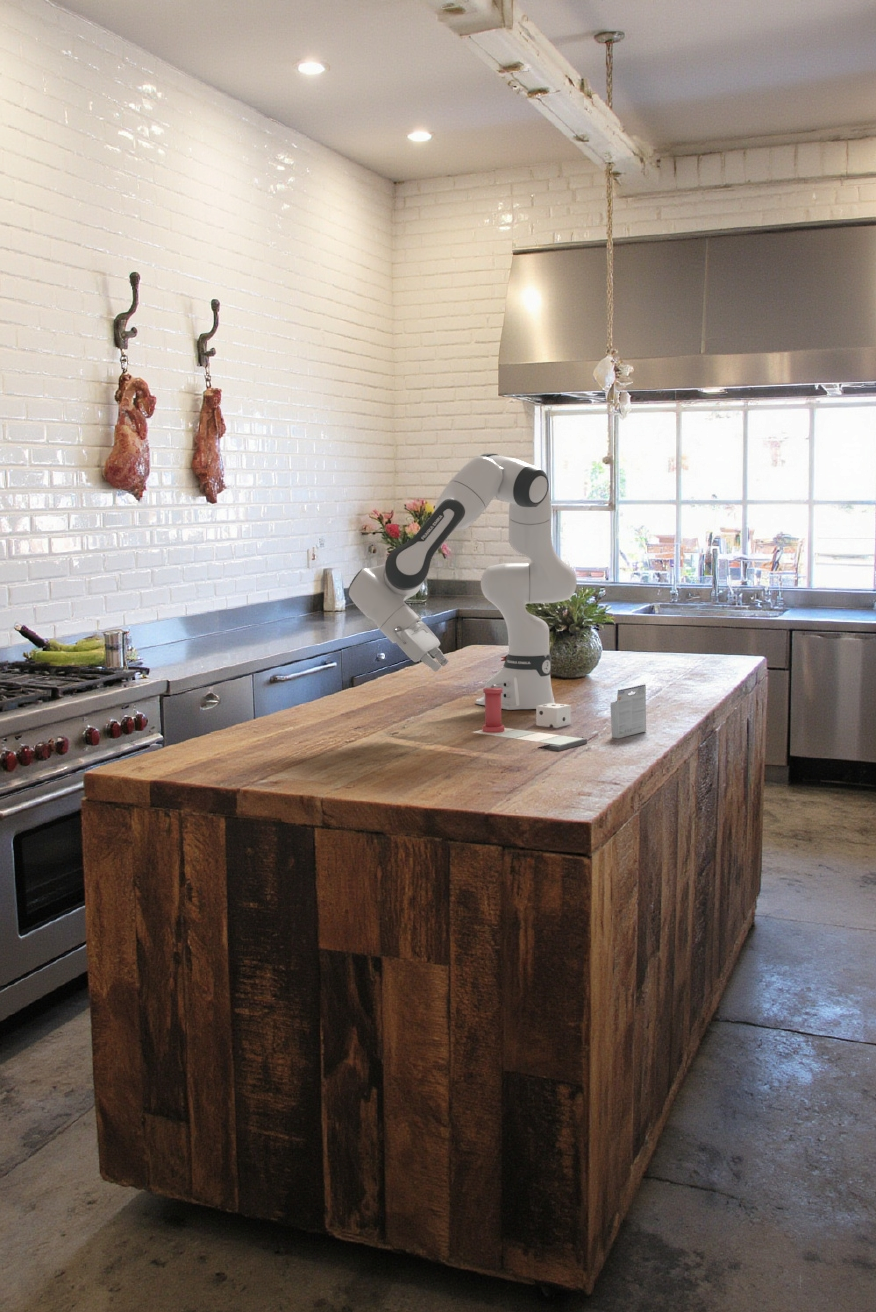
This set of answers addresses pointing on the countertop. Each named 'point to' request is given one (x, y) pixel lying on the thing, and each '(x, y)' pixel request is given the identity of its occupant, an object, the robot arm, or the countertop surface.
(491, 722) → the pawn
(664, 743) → the countertop surface
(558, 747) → the game board
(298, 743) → the countertop surface
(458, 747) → the countertop surface
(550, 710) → the die
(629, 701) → the ink box
